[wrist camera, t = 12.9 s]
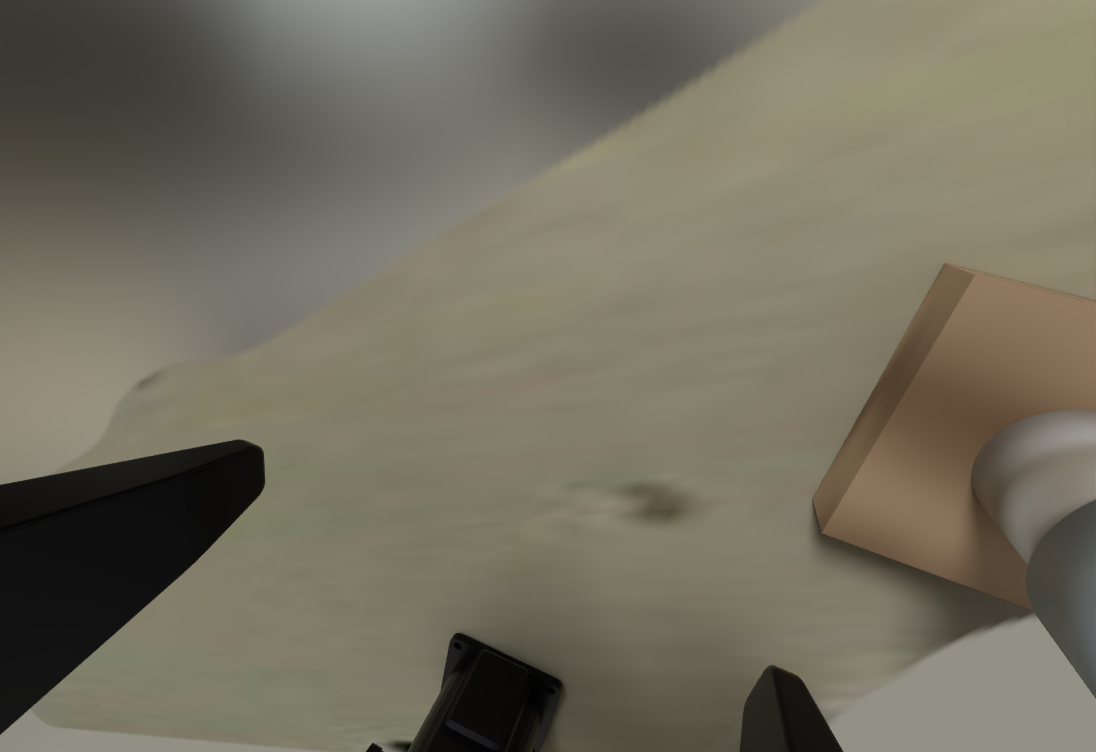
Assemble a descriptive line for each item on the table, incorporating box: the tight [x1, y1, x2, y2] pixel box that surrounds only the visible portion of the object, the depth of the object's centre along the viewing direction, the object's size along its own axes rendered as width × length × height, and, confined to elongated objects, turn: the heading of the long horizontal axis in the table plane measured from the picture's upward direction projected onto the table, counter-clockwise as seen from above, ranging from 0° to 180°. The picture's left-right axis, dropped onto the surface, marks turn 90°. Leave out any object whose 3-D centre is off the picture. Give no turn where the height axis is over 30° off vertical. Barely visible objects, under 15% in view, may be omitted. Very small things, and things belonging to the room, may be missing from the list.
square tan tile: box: [812, 263, 1096, 611], centre depth 13 cm, size 9×9×6 cm
